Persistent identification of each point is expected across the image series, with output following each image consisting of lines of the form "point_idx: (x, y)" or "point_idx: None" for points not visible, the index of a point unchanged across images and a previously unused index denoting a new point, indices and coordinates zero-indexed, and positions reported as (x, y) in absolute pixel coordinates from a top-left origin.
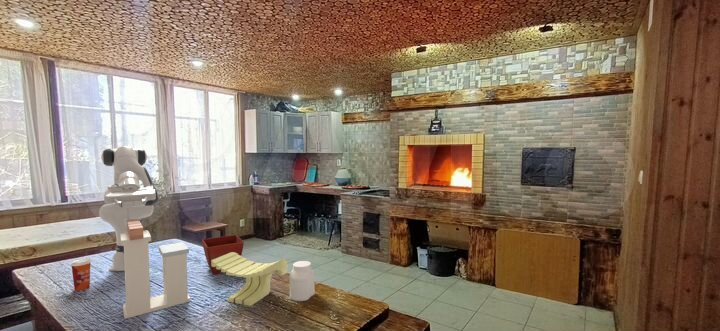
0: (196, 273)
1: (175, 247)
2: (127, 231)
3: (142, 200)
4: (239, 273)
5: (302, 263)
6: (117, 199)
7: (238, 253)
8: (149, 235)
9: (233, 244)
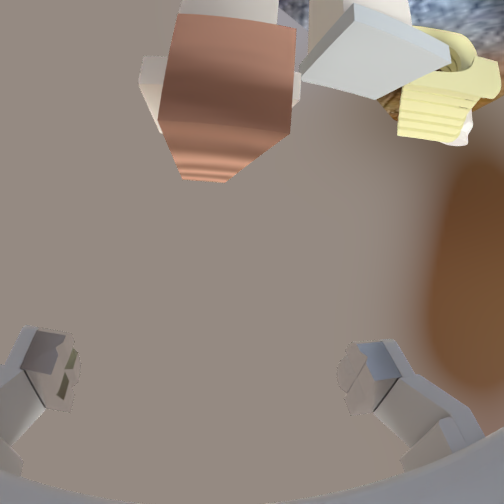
0: None
1: (369, 73)
2: None
3: (343, 387)
4: (408, 94)
5: (455, 142)
6: (18, 457)
7: None
8: None
9: None
